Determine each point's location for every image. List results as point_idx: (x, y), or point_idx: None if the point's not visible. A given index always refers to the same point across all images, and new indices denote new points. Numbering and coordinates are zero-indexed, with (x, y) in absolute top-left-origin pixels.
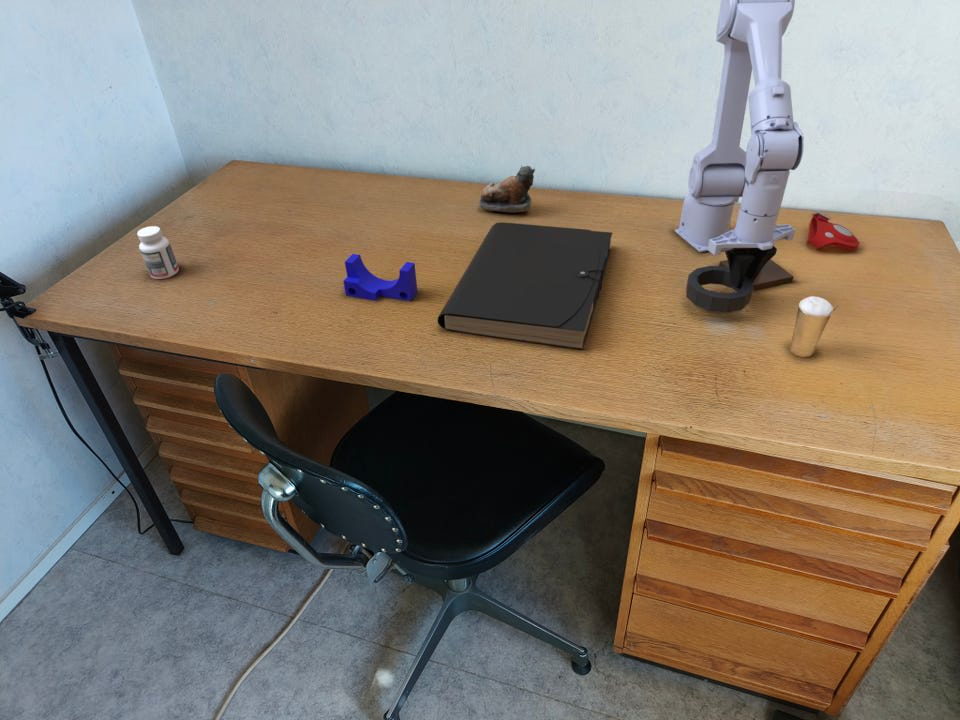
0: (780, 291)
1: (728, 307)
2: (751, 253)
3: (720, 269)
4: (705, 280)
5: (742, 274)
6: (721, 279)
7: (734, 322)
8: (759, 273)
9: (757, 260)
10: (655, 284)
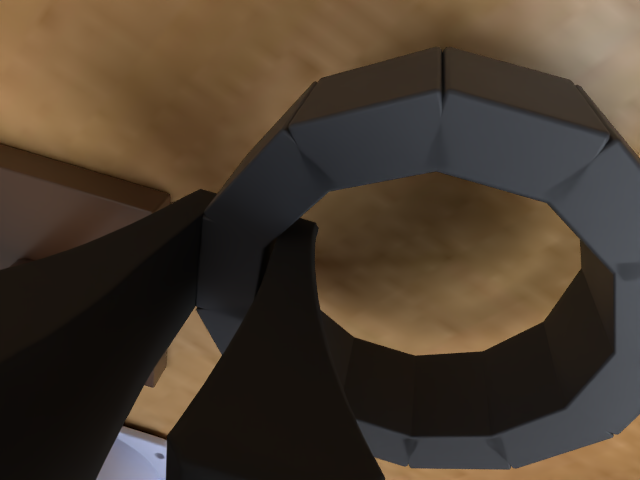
0: (11, 96)
1: (591, 101)
2: (84, 435)
3: None
4: (387, 370)
5: (292, 292)
6: None
7: (487, 26)
8: (42, 247)
9: (88, 345)
10: None
